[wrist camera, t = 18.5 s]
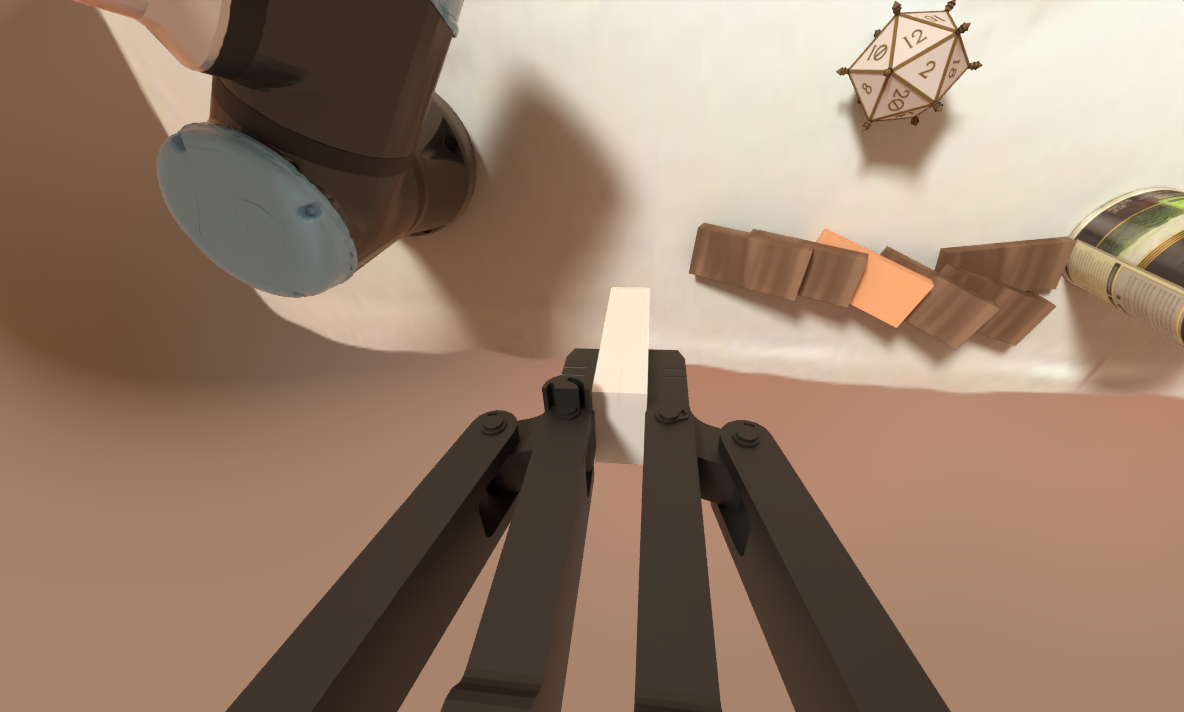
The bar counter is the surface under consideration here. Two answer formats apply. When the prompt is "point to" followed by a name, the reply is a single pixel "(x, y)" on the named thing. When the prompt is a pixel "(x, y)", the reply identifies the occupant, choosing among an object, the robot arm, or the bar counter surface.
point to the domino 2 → (828, 271)
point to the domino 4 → (945, 305)
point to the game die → (909, 65)
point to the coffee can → (1135, 257)
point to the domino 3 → (883, 284)
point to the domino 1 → (750, 260)
